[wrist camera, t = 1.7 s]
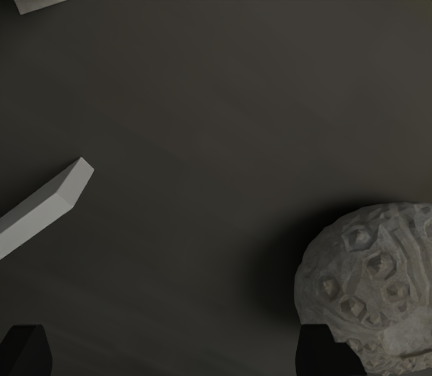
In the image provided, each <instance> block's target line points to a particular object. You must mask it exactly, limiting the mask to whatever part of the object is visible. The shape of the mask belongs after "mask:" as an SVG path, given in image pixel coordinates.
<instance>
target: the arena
mask: <svg viewBox="0 0 432 376" xmlns="http://www.w3.org/2000/svg"><path fill="white" fill-rule="evenodd" d="M93 171H94V169H93V168H92V167H91V166H90V165H89V164H88V163H87V162H86V161H85V160H84V159H83V158H82V157H80V158H79V159H78V160H76V161H75V162H74V163H72V164H71V165H70V166H68V167H67V168H66V169H64V170H63V171H62V172H61V173H59V174H58V175H57V176H55V177H54V178H53V179H51V180H50V181H49V182H47V183H46V184H45V185H43V186H42V187H41V188H39V189H38V190H37V191H36V192H34V193H33V194H32V195H30V196H29V197H28V198H26V199H25V200H24V201H22V202H21V203H20V204H18V205H17V206H16V207H14V208H13V209H12V210H10V211H9V212H8V213H7V214H5V215H4V216H3V217H1V218H0V259H2V258H3V257H4V256H6V255H7V254H9V253H10V252H11V251H13V250H14V249H16V248H17V247H18V246H20V245H21V244H23V243H24V242H25V241H27V240H28V239H30V238H31V237H32V236H34V235H35V234H37V233H38V232H39V231H41V230H42V229H44V228H45V227H46V226H48V225H49V224H51V223H52V222H53V221H55V220H56V219H58V218H59V217H60V216H62V215H63V214H64V213H66V212H67V211H69V210H70V209H71V208H73V206H74V205H75V203H76V201H77V199H78V198H79V196H80V194H81V192H82V191H83V189H84V187H85V185H86V184H87V182H88V180H89V178H90V177H91V175H92V173H93Z"/></svg>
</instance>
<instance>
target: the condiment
mask: <svg viewBox="0 0 432 376" xmlns="http://www.w3.org/2000/svg"><path fill="white" fill-rule="evenodd" d="M14 1H15V3H16V5H17V7H18V10H19V12H20V15H22V14H25V13H28V12H31V11H34V10H38V9H41V8H43V7H47V6H50V5H53V4H56V3H59V2H62V1H65V0H14Z"/></svg>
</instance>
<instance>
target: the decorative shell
mask: <svg viewBox="0 0 432 376" xmlns="http://www.w3.org/2000/svg"><path fill="white" fill-rule="evenodd" d="M294 302H295V306H296V309H297V312H298V315H299V318H300V322H301V324H327V325H328V326H329V328H330V330H331V333H332V335H333V338H334V340H335V342H346V343H347V344H348V345H349V346H350V347H351V348H352V350H353V351H354V352H355V353H356V354H357V355H358V356H359V357H360V360H361V362H362V364H363V366H364V369H365V371H366V372H371V373H377V374H381V375H382V376H388V375H389V374H390V373H394V374H396V375H397V376H398V375H400V374H403V373H410V372H414V371H419V370H422V369H425V368H427V367H431V368H432V204H431V203H424V202H404V201H403V202H394V203H383V204H377V205H372V206H366V207H362V208H360V209H358V210H356V211H354V212H351V213H348V214H346V215H344V216H342V217H340V218H338V220H337V221H336V222H334V223H333V224H331V225H329V226H327V227H325V228H324V229H323V230H322V231H321V232H320V234H319V235H318V236H317V237H316V238H315V239H314V240H313V241H311V242H310V243H309V245H308V247H307V249H306V251H305V253H304V255H303V260H302V263H301V264H300V265H299V267H298V270H297V272H296V275H295V284H294Z"/></svg>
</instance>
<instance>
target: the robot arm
mask: <svg viewBox="0 0 432 376" xmlns="http://www.w3.org/2000/svg"><path fill="white" fill-rule="evenodd" d="M295 365H296V374H297V376H367V373H366V371H365V369H364V366H363V364H362V362H361V360H360V357H359V356H358V355H357V354H356V353H355V352H354V351H353V350H352V348H351V347H350V346H349V345H348V344H347V343H346V342H335V340H334V338H333V335H332V333H331V330H330V328H329V326H328V325H327V324H302V326H301V330H300V335H299V340H298V346H297V351H296V357H295ZM51 370H52V355H51V351H50V348H49V344H48V341H47V337H46V334H45V330H44V327H43V326H42V325H41V324H21V325H14V326H12V327H11V328H10V330H9V331H8V333H7V334H6V336H5V338H4V339H3V341H2V342H1V344H0V376H50V374H51Z"/></svg>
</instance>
